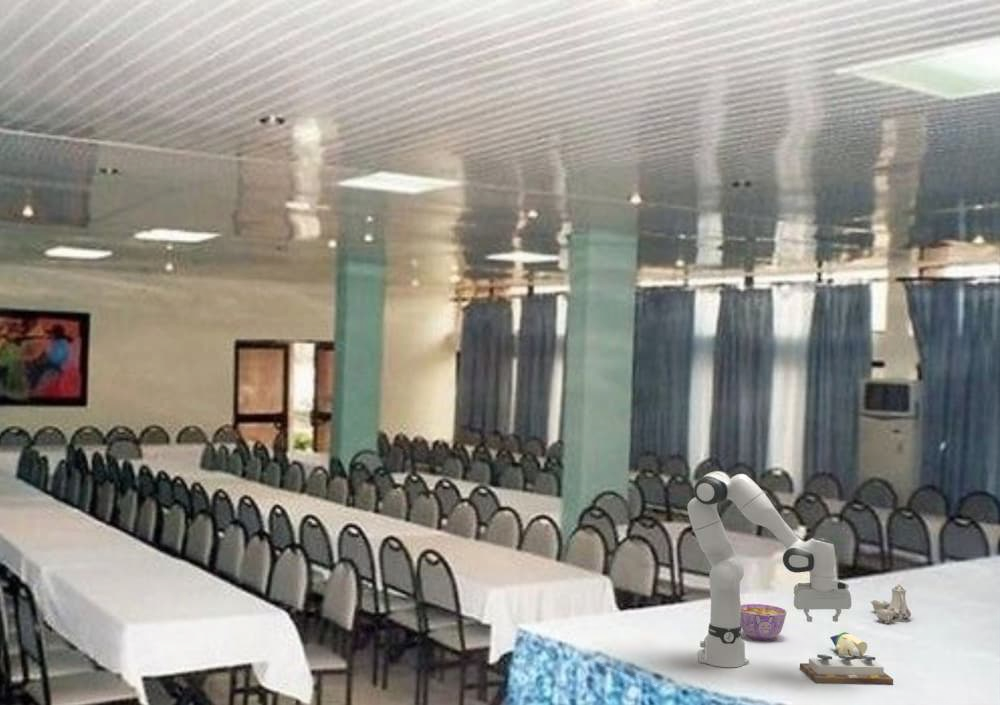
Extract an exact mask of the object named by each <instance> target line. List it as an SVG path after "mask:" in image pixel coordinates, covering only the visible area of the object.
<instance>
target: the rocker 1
mask: <svg viewBox="0 0 1000 705" xmlns="http://www.w3.org/2000/svg"><path fill="white" fill-rule="evenodd" d="M816 657H817V658H818V659H833V656H831V655H828V654H820V653H818V654H817V655H816Z"/></svg>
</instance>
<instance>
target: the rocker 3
mask: <svg viewBox="0 0 1000 705" xmlns="http://www.w3.org/2000/svg"><path fill="white" fill-rule="evenodd" d="M859 658H860V659H865V660H874V661H876V656H873V655H867V654H863V655H860V656H859Z"/></svg>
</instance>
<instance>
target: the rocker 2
mask: <svg viewBox="0 0 1000 705" xmlns="http://www.w3.org/2000/svg"><path fill="white" fill-rule="evenodd" d="M854 657H855V656H854ZM854 657H852V656H848V655H839V654H838V659H845V660H854V659H855V658H854Z"/></svg>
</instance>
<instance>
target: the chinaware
mask: <svg viewBox="0 0 1000 705" xmlns="http://www.w3.org/2000/svg"><path fill="white" fill-rule="evenodd" d="M891 592H892V594H891V596H892V597H891V600H890V602H888V601H886V600H880V601H879V600H872V601H870V604H872V608H873V610H874V612H875V614H876V617H877V619H878V620H879V621H880V622H879V623H881V624H889V623H890V622H891V621H892V622H898V623H907V622H908V621H909V618H911V615H912V612H911V611H910V609H909V607H908V605H907V602H906V593H907V589H904V588H903V586H902V585H901V584H900V583H898V584H897V585H895V586H894V587H893V588H891Z"/></svg>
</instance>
